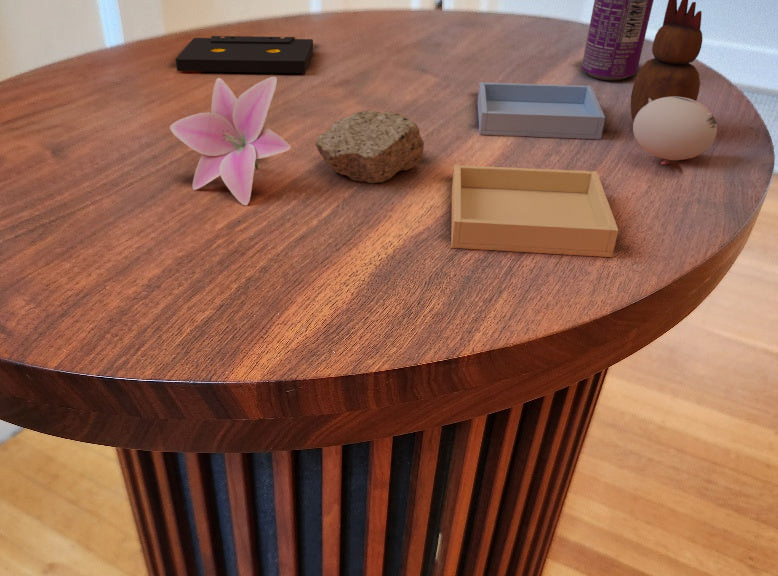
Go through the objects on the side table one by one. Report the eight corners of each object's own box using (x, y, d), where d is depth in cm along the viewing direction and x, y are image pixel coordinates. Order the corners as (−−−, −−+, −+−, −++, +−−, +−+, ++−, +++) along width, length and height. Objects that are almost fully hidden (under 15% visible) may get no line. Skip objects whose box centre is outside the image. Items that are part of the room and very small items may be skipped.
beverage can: (641, 72, 105) (664, -26, 98) (627, 86, 100) (651, -16, 93) (588, 64, 108) (607, -31, 101) (573, 78, 103) (592, -21, 96)
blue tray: (587, 106, 94) (591, 85, 93) (600, 139, 85) (605, 117, 84) (477, 102, 96) (479, 82, 94) (479, 134, 87) (482, 112, 86)
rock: (368, 117, 84) (405, 68, 77) (410, 182, 83) (451, 138, 76) (297, 142, 79) (330, 92, 72) (340, 211, 78) (378, 167, 71)
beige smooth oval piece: (715, 165, 79) (735, 99, 75) (690, 183, 76) (711, 115, 72) (640, 146, 84) (656, 83, 79) (614, 162, 80) (629, 96, 76)
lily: (172, 175, 82) (140, 111, 73) (261, 113, 83) (239, 43, 74) (235, 246, 77) (208, 186, 68) (328, 178, 78) (313, 111, 69)
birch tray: (591, 196, 74) (597, 171, 72) (612, 257, 64) (618, 230, 63) (451, 189, 75) (454, 164, 74) (451, 248, 66) (454, 221, 64)
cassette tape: (313, 52, 115) (313, 37, 114) (304, 75, 106) (304, 58, 105) (195, 50, 117) (193, 35, 115) (176, 73, 108) (174, 57, 106)
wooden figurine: (614, 124, 89) (646, -19, 80) (654, 117, 91) (690, -24, 82) (654, 144, 84) (693, -7, 75) (696, 136, 86) (740, -12, 77)
